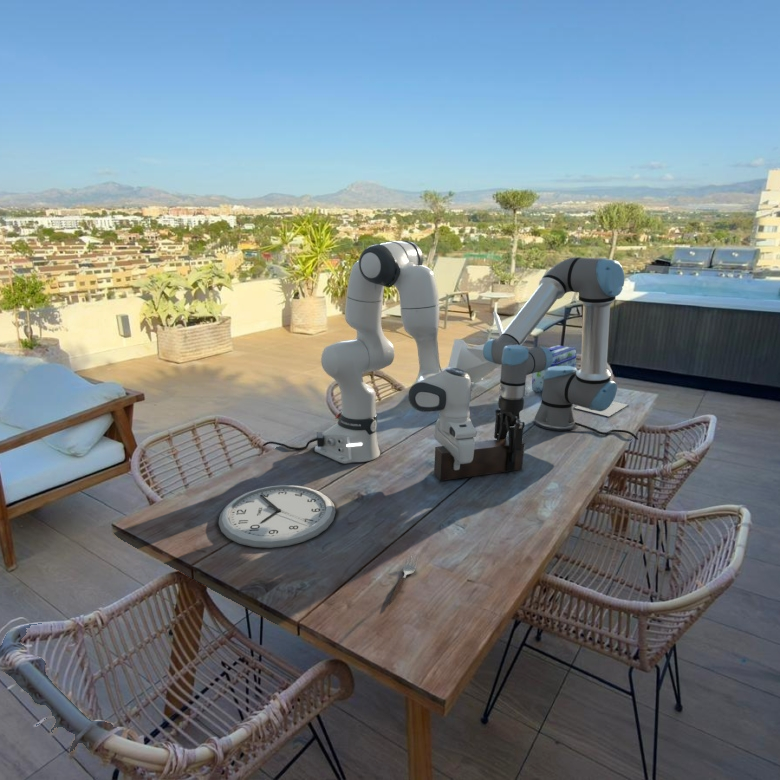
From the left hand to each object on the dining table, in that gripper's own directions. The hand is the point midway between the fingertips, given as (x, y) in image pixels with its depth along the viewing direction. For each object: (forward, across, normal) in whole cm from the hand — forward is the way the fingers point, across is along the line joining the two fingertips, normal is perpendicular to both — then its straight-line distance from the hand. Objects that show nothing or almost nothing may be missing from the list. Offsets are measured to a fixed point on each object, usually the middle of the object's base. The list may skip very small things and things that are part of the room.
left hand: (451, 464), depth 159 cm
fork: (+4, +43, -31) cm, 53 cm away
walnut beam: (+4, 0, +10) cm, 10 cm away
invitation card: (+4, -42, +91) cm, 100 cm away
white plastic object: (+4, -75, +49) cm, 90 cm away
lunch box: (+4, -68, +84) cm, 109 cm away
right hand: (+3, 0, +19) cm, 19 cm away
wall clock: (+4, +8, -53) cm, 54 cm away
